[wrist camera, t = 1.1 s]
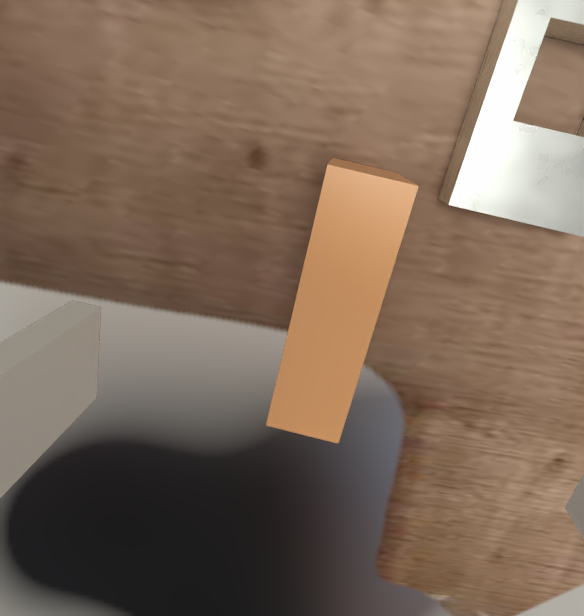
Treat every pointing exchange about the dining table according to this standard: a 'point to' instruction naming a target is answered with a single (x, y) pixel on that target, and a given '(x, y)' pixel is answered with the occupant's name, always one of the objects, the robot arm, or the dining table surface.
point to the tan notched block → (339, 296)
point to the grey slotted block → (519, 129)
